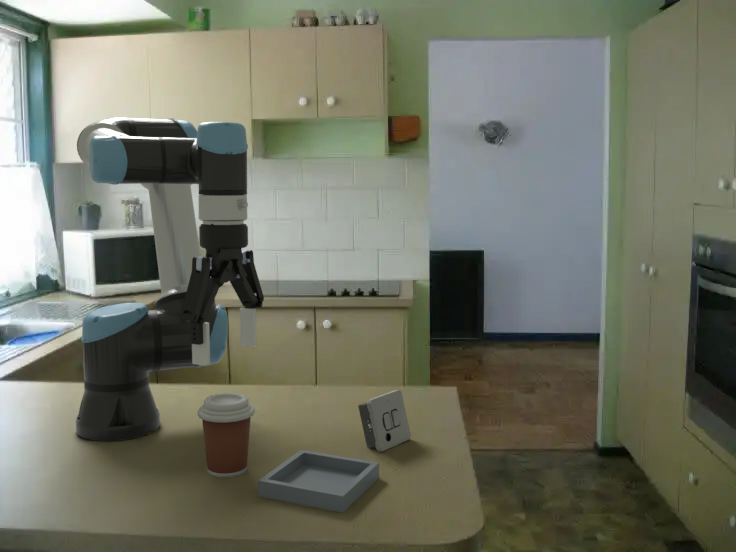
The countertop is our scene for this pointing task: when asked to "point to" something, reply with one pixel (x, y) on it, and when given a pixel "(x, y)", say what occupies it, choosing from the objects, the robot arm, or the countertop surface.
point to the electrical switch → (385, 421)
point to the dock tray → (319, 480)
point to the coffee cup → (226, 433)
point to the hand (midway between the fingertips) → (225, 355)
